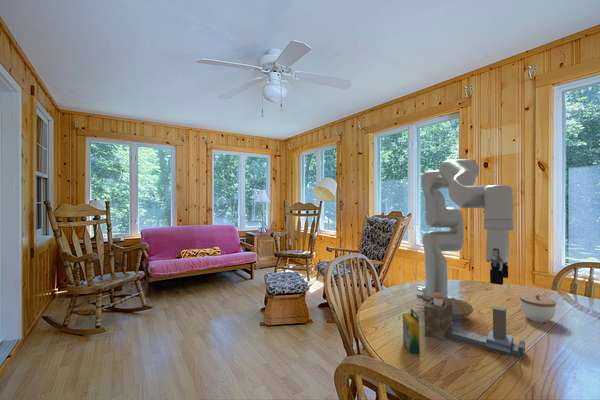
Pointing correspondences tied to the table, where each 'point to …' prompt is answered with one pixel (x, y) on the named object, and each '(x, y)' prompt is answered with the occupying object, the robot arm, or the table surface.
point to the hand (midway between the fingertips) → (499, 280)
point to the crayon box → (411, 332)
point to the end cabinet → (437, 319)
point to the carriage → (499, 331)
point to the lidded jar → (538, 307)
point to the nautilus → (455, 307)
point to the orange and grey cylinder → (438, 299)
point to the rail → (483, 342)
